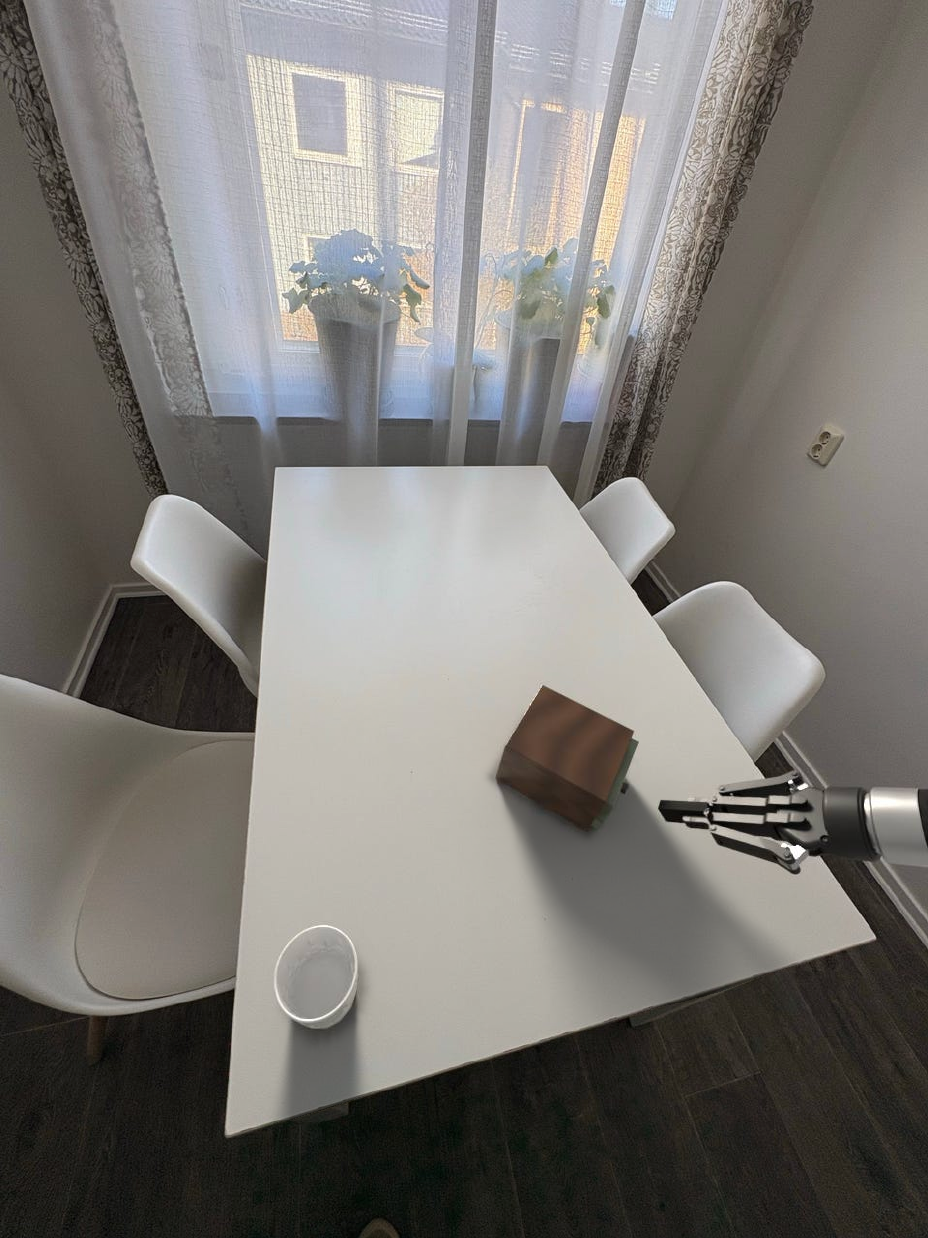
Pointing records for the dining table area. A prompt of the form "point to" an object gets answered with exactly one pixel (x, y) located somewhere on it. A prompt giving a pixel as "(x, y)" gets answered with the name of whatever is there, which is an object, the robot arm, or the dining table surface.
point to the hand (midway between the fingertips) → (663, 810)
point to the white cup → (317, 977)
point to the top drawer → (617, 785)
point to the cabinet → (564, 756)
